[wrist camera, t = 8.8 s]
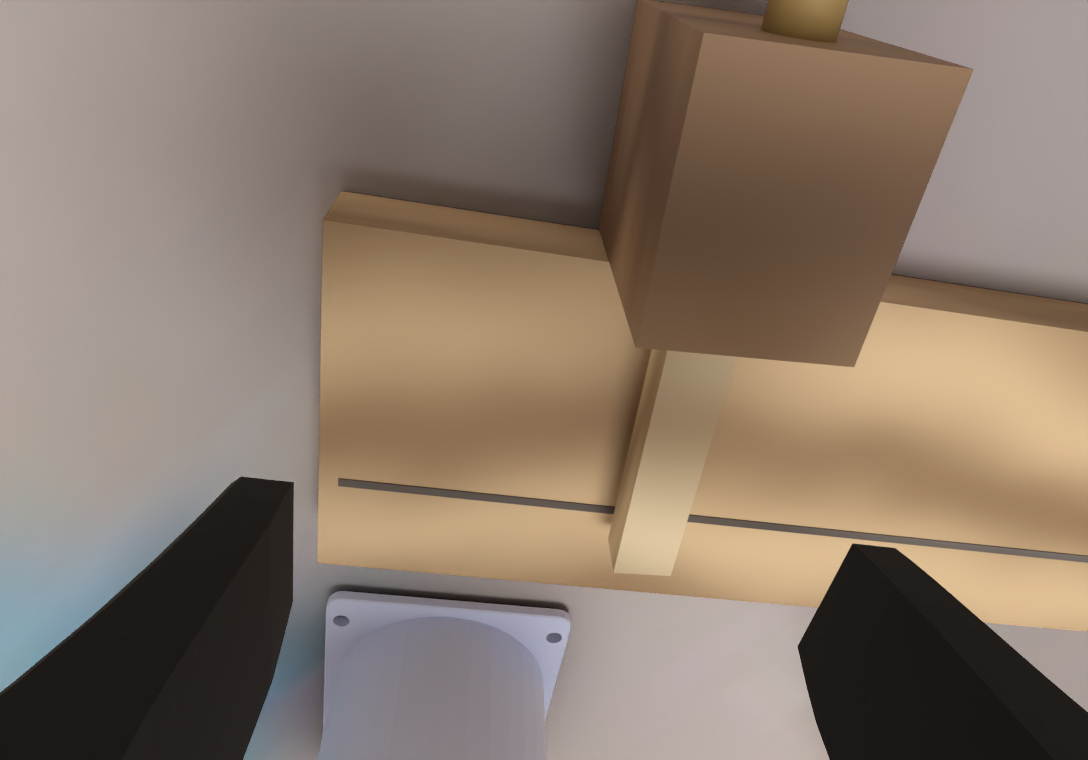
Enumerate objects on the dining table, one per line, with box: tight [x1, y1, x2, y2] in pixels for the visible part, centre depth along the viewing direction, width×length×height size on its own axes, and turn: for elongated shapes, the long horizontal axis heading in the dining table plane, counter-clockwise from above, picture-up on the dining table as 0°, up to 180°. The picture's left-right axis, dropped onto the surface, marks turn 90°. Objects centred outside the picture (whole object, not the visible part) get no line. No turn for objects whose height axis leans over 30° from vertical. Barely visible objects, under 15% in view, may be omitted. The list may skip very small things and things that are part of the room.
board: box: [317, 191, 1088, 631], centre depth 20 cm, size 10×24×2 cm, turn 80°
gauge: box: [599, 0, 973, 576], centre depth 16 cm, size 14×4×6 cm, turn 173°
